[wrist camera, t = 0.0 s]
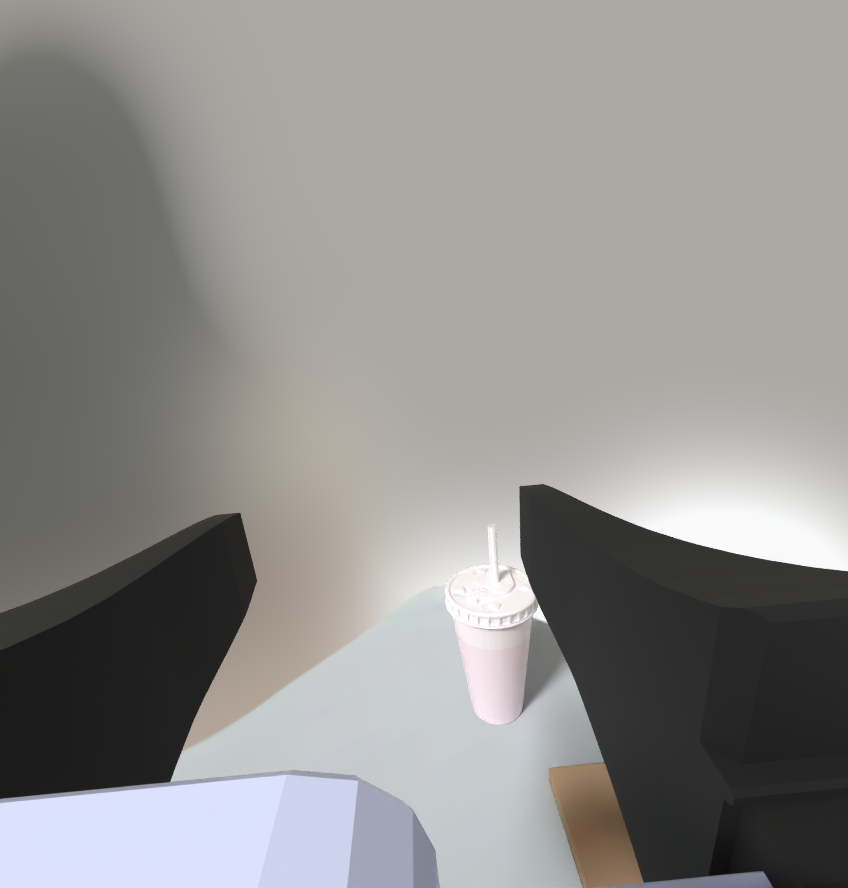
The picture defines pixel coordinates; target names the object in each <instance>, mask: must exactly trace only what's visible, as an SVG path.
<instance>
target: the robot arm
mask: <svg viewBox="0 0 848 888" xmlns="http://www.w3.org/2000/svg"><path fill="white" fill-rule="evenodd" d="M520 539H521V540H520V542H521V543H520V546H521V558H522V561H523V564H524V568H525V571H526V574H527V577H528V580H529V583H530V586H531V589H532V591H533V593H534V595H535V597H536V599H537V602H538V604H539V606H540V608H541V610H542V612H543V614H544V616H545V618H546V620H547V622H548V624H549V626H550V628H551V630H552V633H553V635H554V637H555V639H556V641H557V643H558V645H559V647H560V649H561V651H562V653H563V655H564V657H565V659H566V661H567V663H568V666H569V668H570V670H571V672H572V675H573V677H574V679H575V682H576V684H577V687H578V690H579V692H580V695H581V698H582V700H583V703H584V706H585V709H586V711H587V714H588V717H589V720H590V722H591V725H592V728H593V731H594V734H595V736H596V739H597V742H598V745H599V748H600V751H601V754H602V757H603V759H604V762H605V765H606V768H607V771H608V774H609V777H610V780H611V783H612V786H613V789H614V792H615V795H616V798H617V801H618V804H619V807H620V810H621V813H622V816H623V819H624V822H625V825H626V828H627V832H628V835H629V838H630V841H631V844H632V847H633V850H634V853H635V857H636V860H637V863H638V866H639V870H640V873H641V876H642V879H643V882H644V883H638V884H628V885H618V886H608V887H598V888H848V571H840V570H831V569H822V568H814V567H807V566H801V565H794V564H788V563H782V562H776V561H770V560H764V559H759V558H754V557H749V556H744V555H739V554H734V553H730V552H726V551H722V550H718V549H713V548H709V547H705V546H701V545H697V544H693V543H690V542H686V541H683V540H679V539H676V538H673V537H670V536H667V535H664V534H660V533H657V532H654V531H651V530H648V529H645V528H643V527H640V526H637V525H635V524H632V523H630V522H627V521H625V520H622V519H620V518H617V517H615V516H612V515H610V514H608V513H606V512H604V511H601V510H599V509H597V508H595V507H593V506H590V505H588V504H586V503H584V502H582V501H580V500H578V499H576V498H574V497H572V496H570V495H568V494H566V493H563V492H561V491H559V490H557V489H555V488H552V487H550V486H547V485H544V484H540V485H531V486H520ZM256 582H257V579H256V574H255V570H254V566H253V562H252V558H251V554H250V551H249V546H248V542H247V538H246V534H245V530H244V526H243V523H242V518H241V514H240V513H233V514H222V515H215V516H212V517H209V518H207V519H205V520H202V521H200V522H198V523H196V524H194V525H192V526H189V527H188V528H186V529H184V530H182V531H180V532H178V533H176V534H174V535H172V536H170V537H168V538H166V539H164V540H162V541H161V542H159V543H157V544H155V545H153V546H151V547H149V548H147V549H145V550H143V551H142V552H140V553H138V554H136V555H133V556H132V557H130V558H127V559H125V560H123V561H121V562H120V563H117V564H115V565H113V566H111V567H109V568H108V569H106V570H103V571H101V572H99V573H97V574H95V575H93V576H91V577H89V578H87V579H84V580H82V581H80V582H77V583H75V584H73V585H71V586H69V587H66V588H64V589H61V590H59V591H56V592H54V593H52V594H50V595H47V596H44V597H42V598H40V599H37V600H35V601H32V602H30V603H27V604H24V605H22V606H19V607H16V608H13V609H11V610H8V611H5V612H2V613H0V888H440V885H439V877H438V869H437V860H436V852H435V849H434V847H433V845H432V843H431V842H430V840H429V838H428V836H427V834H426V833H425V831H424V829H423V827H422V825H421V824H420V822H419V820H418V818H417V816H416V815H415V813H414V811H413V809H411V808H410V807H409V806H408V805H407V804H406V803H404V802H403V801H402V800H400V799H398V798H396V797H395V796H393V795H391V794H389V793H387V792H385V791H383V790H381V789H379V788H378V787H376V786H374V785H372V784H370V783H368V782H366V781H364V780H362V779H361V778H359V777H357V776H355V775H345V774H333V773H321V772H310V771H298V770H288V771H278V772H268V773H258V774H248V775H238V776H227V777H217V778H207V779H197V780H187V781H177V782H170V781H171V778H172V775H173V772H174V770H175V767H176V764H177V762H178V759H179V757H180V754H181V751H182V749H183V746H184V743H185V741H186V739H187V736H188V733H189V731H190V728H191V726H192V723H193V721H194V718H195V716H196V714H197V712H198V710H199V708H200V705H201V703H202V701H203V699H204V697H205V695H206V693H207V691H208V689H209V687H210V685H211V683H212V681H213V679H214V677H215V675H216V673H217V671H218V669H219V667H220V665H221V663H222V662H223V660H224V658H225V656H226V654H227V652H228V650H229V648H230V646H231V644H232V642H233V640H234V638H235V636H236V634H237V632H238V630H239V628H240V626H241V623H242V622H243V619H244V617H245V615H246V613H247V610H248V607H249V604H250V601H251V598H252V595H253V592H254V588H255V585H256Z"/></svg>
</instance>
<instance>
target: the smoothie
mask: <svg viewBox="0 0 848 888" xmlns="http://www.w3.org/2000/svg"><path fill="white" fill-rule="evenodd" d="M488 540H489V556H490V565H488V564H487V565H477V566H473V567H469V568H466V569H464V570H461V571H460V572H458V573H456V574H455V575H454V576H452V577H451V578H450V579H449V581H448V582H447V584H446V587H445V596H446V597H445V604H446V607H447V610H448V611H449V613H450V614H451V615H452V616H453V621H454V626H455V630H456V634H457V638H458V643H459V647H460V652H461V656H462V661H463V665H464V670H465V674H466V679H467V683H468V688H469V692H470V697H471V701H472V706H473V709H474V711H475V713H476V714H477V715H478V716H479V717H480V718H481V719H482V720H484V721H486V722H488V723H491V724H496V725H503V724H508V723H510V722H512V721H514V720H516V719H517V718H518V717H519V715H520V714H521V712H522V708H523V699H524V689H525V680H526V671H527V662H528V653H529V644H530V634H531V627H532V616H533V614H534V613H535V612H536V610H537V607H538V602H537V599H536V597H535V595H534V593H533V591H532V589H531V586H530V583H529V580H528V577H527V574H525V573H524V572H522V571H520V570H518V569H515V568H512V567H509V566H503V565H498V557H497V536H496V525H494V524H490V525H488Z"/></svg>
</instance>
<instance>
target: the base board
mask: <svg viewBox="0 0 848 888" xmlns="http://www.w3.org/2000/svg"><path fill="white" fill-rule="evenodd" d="M549 781H550V785H551V788H552V791H553V794H554V797H555V800H556V804H557V807H558V810H559V813H560V816H561V820H562V823H563V826H564V829H565V832H566V835H567V839H568V842H569V845H570V848H571V851H572V854H573V858H574V861H575V864H576V867H577V870H578V873H579V877H580V880H581V883H582V886H583V888H598V887H608V886H618V885H628V884H638V883H644V882H643V879H642V876H641V873H640V870H639V866H638V863H637V860H636V857H635V853H634V850H633V847H632V844H631V841H630V838H629V835H628V832H627V828H626V825H625V822H624V819H623V816H622V813H621V810H620V807H619V804H618V801H617V798H616V795H615V792H614V789H613V786H612V783H611V780H610V777H609V774H608V771H607V768H606V765H605V763H595V764H585V765H575V766H565V767H555V768H549Z"/></svg>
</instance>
